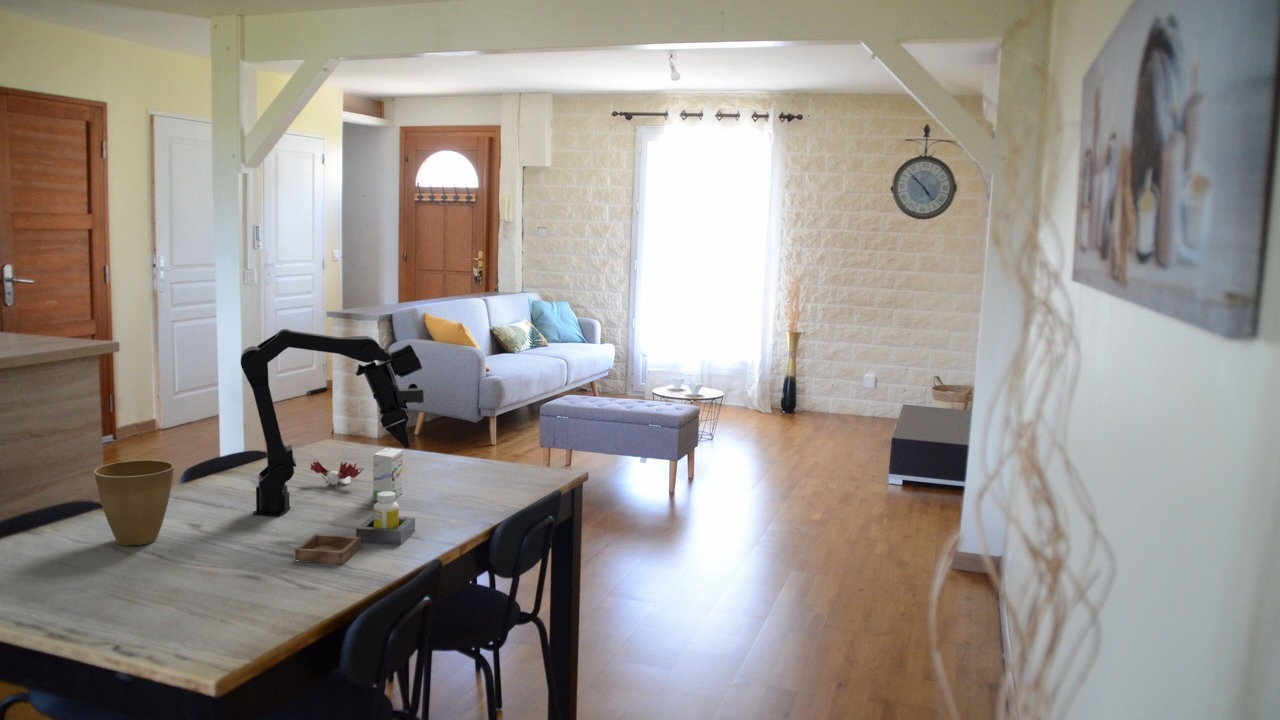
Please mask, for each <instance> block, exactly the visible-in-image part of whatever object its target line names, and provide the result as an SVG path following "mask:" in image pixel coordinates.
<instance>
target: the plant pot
mask: <svg viewBox="0 0 1280 720" xmlns="http://www.w3.org/2000/svg"><path fill="white" fill-rule="evenodd" d="M174 469H175V464H173V462H170V461H166V460H165V461H164V460H156V459H154V460H153V459H139V460H138V459H137V460H126V461H118V462H113V463H107V464H105V465H101V466H98V467H96V468H95V469H94V471H93V473H94V477H95V478H94V479H95V483H96V487H97V491H98V496H99V499H100V503H101V506H102V510H103V512H104V515H105V518H106V520H107V523H108V525H109V529H110V530H111V532H112V534H113V536H114V538H115V540H116V543H117V542H118V543H119V544H118V543H117V544H118V545H120V544H121V545H120V546H123V545H139V546H144V545H143V544H145V545H149V544H151V542H152V543H154V542H155V541H156V540H157V539H158V537H159V535H160V534H159V533H160V531H161V528H162V525H163V523H164V519H165V516H166V514H167V513H166V512H167V509H168V505H169V500H170V497H171V496H170V495H171V490H172V484H173V479H174V478H173V477H174V471H175V470H174ZM153 541H154V542H153ZM148 543H149V544H148ZM141 544H142V545H141Z"/></svg>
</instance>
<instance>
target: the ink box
mask: <svg viewBox="0 0 1280 720" xmlns="http://www.w3.org/2000/svg"><path fill="white" fill-rule="evenodd" d="M372 458H373V459H372V462H373V464H372V466H373V467H372V473H373V474H372V475H373V477H372V500H373V501H375V502H378V501H377V493H379V492H384V491H391V492H395V494H396V497H397V498H398V497H400V496H401V495H402V494H403V489H404V487H403V485H404V484H403V480H404V479H403V478H404V477H403V475H404V474H403V473H404V470H403V469H404V449H401V448H400V449H399V448H392V447H384V448H383V449H380V450H379V451H377V452H376V453H374V455H373V456H372ZM400 494H401V495H400Z"/></svg>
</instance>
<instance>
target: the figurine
mask: <svg viewBox="0 0 1280 720" xmlns="http://www.w3.org/2000/svg"><path fill="white" fill-rule="evenodd" d="M319 460H320V459H319V458H317V459H316V458H315V459H314V460H313V462H312V463H310V470H312V471H313V472H314V473H316V474H323V475H322V476H321V478H322V479H323V480H324V482H325V483H324V487H326V486H327V485H328V484H331V486H334V485H335V487H337V486H338V483H340V484H342V485H349V483H350V484H351V478H352V479H355V478H356V477H358V476H359V475H360V474H361V473H362V471H363V470H364V469H365V468H364V467H363V468H362V467H359V468H356V467H357V465H358V462H355V463H354V464H352V463H348V462H347V461H345V462H344V463H343V462H340V466H339V470H338V471H337V470H329V469H326V468H325V467H324V466H323V465H322V464H321V462H320V461H319ZM315 461H316V462H315ZM359 470H360V471H359Z"/></svg>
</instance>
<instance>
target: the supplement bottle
mask: <svg viewBox="0 0 1280 720" xmlns="http://www.w3.org/2000/svg"><path fill="white" fill-rule="evenodd" d="M396 499H397V498H396V494H395V492H391V491H384V492H379V493H377V501H376V503H375V504H374V505H373V515H374V527H375V528H390V529H397V528H398V527H399V517H400V516H399V513H400V512H399V511H400V509H399V508H400V507H399V506H400V505H399V504H398V501H396Z"/></svg>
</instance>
